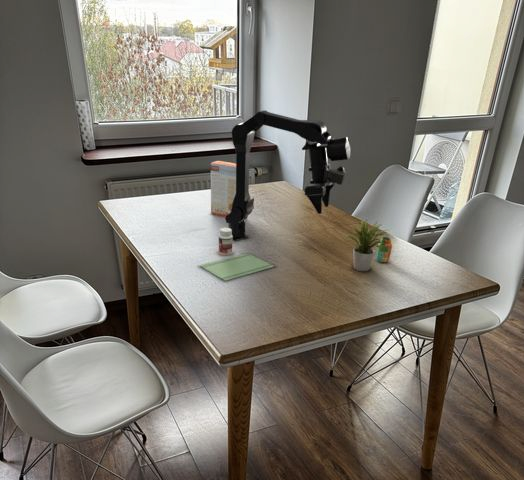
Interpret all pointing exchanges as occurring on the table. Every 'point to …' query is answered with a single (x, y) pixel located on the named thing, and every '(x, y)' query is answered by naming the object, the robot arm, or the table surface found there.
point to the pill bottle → (225, 241)
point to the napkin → (236, 266)
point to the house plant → (365, 246)
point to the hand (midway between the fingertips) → (323, 210)
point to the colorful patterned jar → (384, 250)
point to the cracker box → (222, 187)
